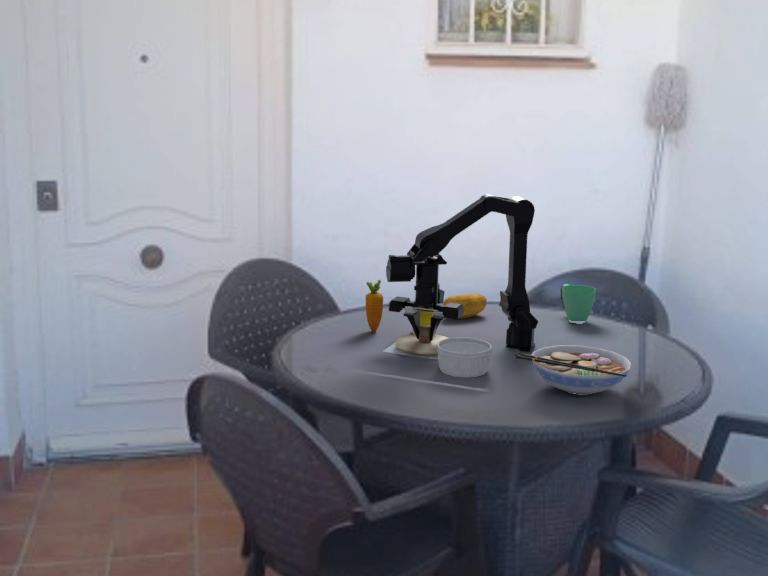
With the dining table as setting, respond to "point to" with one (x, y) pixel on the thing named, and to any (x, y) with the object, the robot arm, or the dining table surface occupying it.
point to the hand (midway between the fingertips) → (425, 339)
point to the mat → (396, 350)
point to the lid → (420, 342)
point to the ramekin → (464, 356)
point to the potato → (468, 303)
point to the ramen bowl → (579, 367)
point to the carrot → (374, 306)
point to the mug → (577, 301)
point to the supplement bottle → (425, 318)
